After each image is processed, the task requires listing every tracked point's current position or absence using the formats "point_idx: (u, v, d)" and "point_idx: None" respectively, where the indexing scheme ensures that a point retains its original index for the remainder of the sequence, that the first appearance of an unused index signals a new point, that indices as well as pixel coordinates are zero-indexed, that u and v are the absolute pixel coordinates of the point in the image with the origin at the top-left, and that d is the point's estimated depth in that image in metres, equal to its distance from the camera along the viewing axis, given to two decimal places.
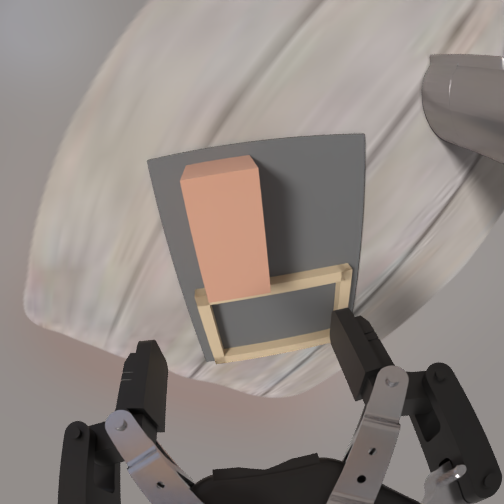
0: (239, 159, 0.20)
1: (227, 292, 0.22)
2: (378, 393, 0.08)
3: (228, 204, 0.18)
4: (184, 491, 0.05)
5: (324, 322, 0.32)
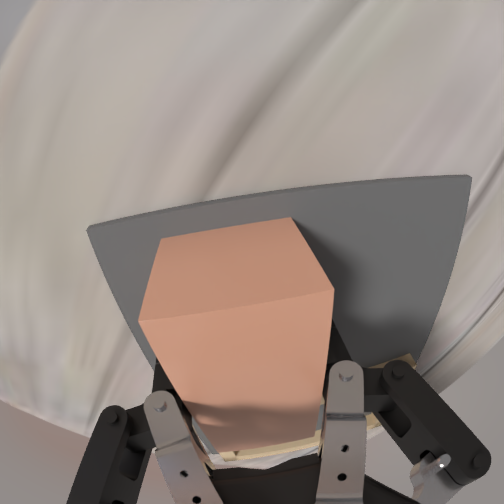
0: (273, 234, 0.10)
1: (246, 445, 0.11)
2: (329, 387, 0.08)
3: (256, 359, 0.08)
4: (206, 485, 0.05)
5: None
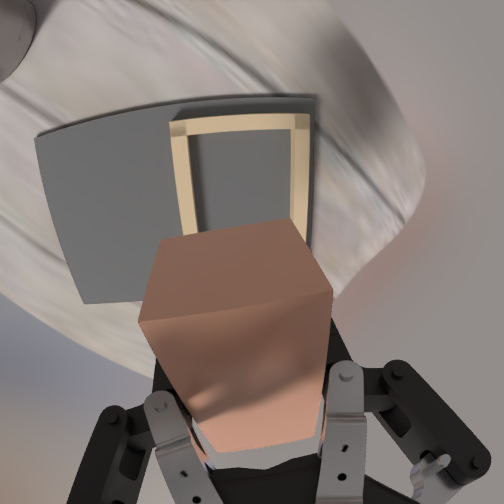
0: (273, 235, 0.10)
1: (246, 445, 0.12)
2: (329, 387, 0.08)
3: (255, 360, 0.08)
4: (206, 485, 0.05)
5: (274, 139, 0.21)
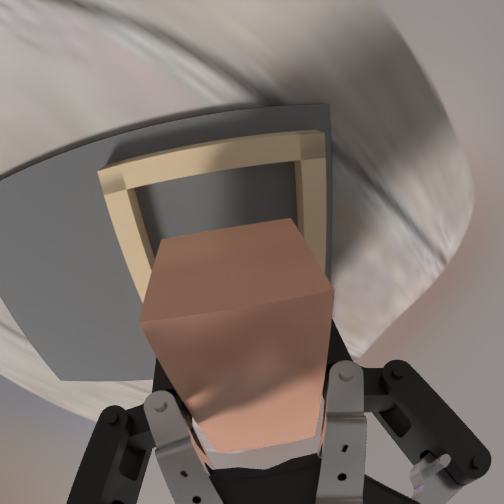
0: (273, 235, 0.10)
1: (247, 445, 0.12)
2: (329, 387, 0.08)
3: (256, 360, 0.08)
4: (206, 485, 0.05)
5: (269, 176, 0.14)
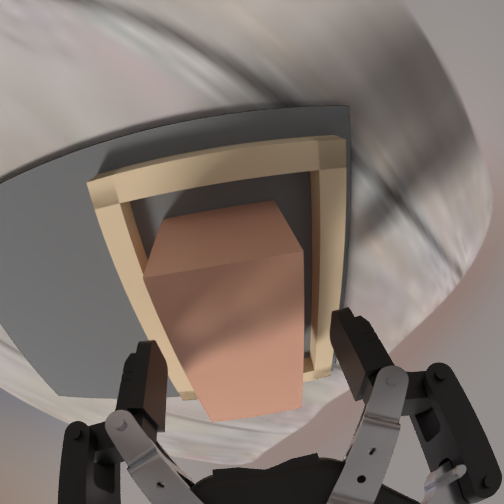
0: (257, 213, 0.11)
1: (238, 413, 0.13)
2: (378, 393, 0.08)
3: (241, 315, 0.10)
4: (184, 491, 0.05)
5: (282, 188, 0.12)
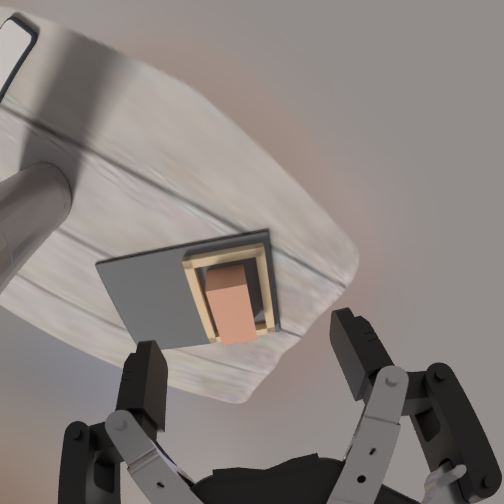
0: (237, 270, 0.37)
1: (233, 340, 0.38)
2: (378, 393, 0.08)
3: (231, 301, 0.35)
4: (184, 491, 0.05)
5: (245, 260, 0.37)
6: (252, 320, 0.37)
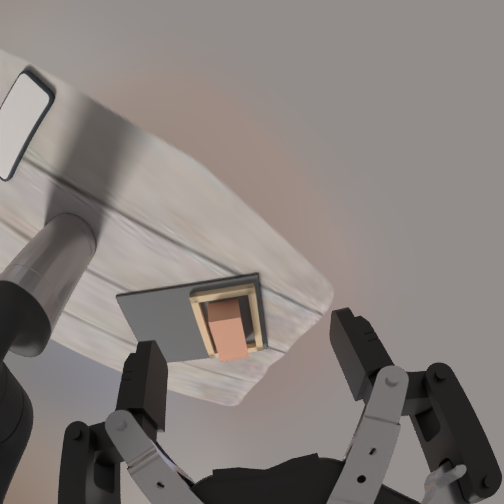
0: (233, 304, 0.45)
1: (229, 357, 0.47)
2: (378, 393, 0.08)
3: (228, 329, 0.44)
4: (184, 491, 0.05)
5: (239, 295, 0.46)
6: (244, 343, 0.46)
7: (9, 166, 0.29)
